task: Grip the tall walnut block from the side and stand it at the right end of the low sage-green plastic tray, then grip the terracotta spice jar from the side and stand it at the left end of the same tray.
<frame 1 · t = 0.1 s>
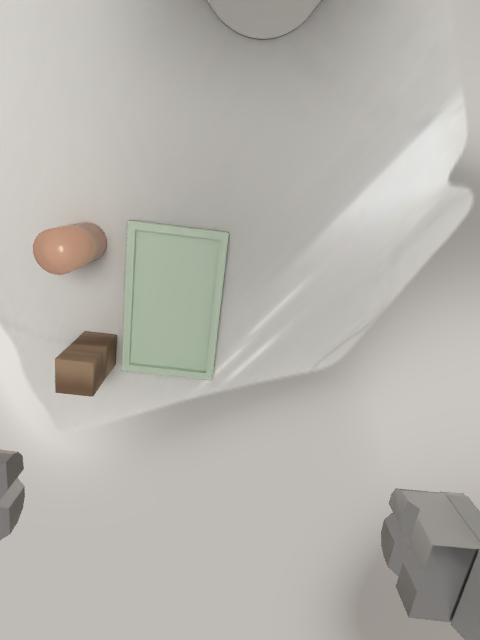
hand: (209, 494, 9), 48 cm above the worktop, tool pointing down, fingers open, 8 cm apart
walnut block: (100, 347, 59), on the worktop
tray: (174, 302, 57), on the worktop
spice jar: (87, 241, 54), on the worktop
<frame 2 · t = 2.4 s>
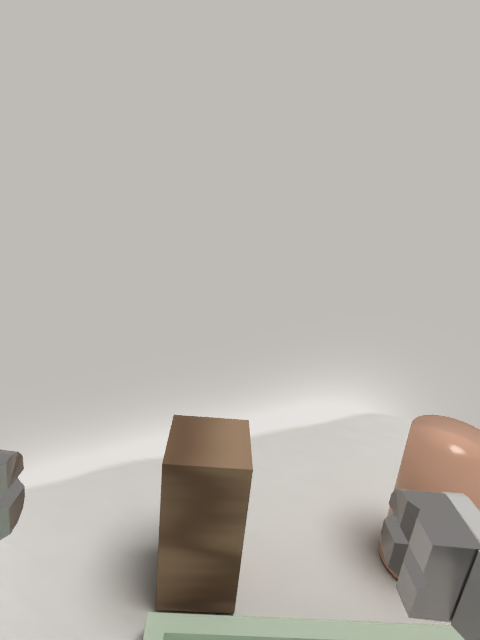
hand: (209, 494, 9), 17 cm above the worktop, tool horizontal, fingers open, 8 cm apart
walnut block: (197, 576, 26), on the worktop
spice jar: (416, 560, 28), on the worktop
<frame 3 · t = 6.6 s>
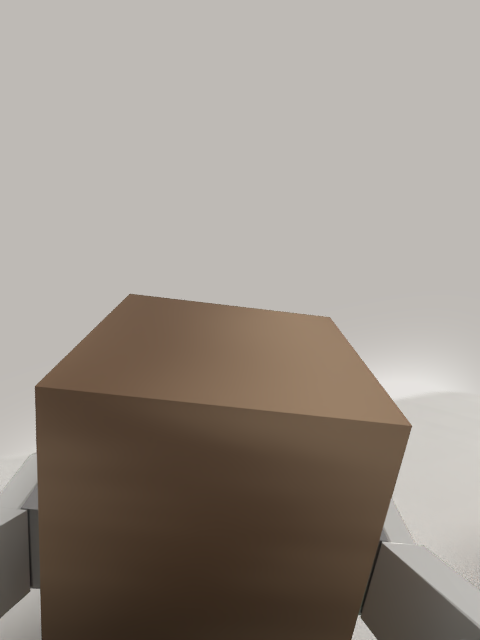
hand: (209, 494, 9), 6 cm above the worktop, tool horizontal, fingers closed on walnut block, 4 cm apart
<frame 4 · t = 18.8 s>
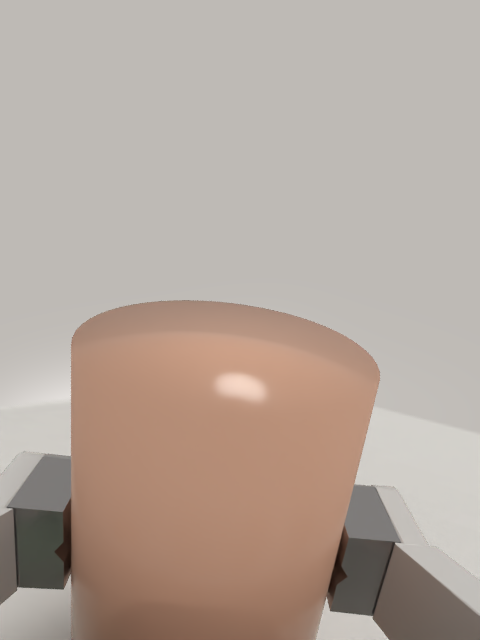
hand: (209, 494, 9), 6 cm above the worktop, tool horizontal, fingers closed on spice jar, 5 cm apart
when the fingers open (8 cm above the worktop, at t = 23.3 s): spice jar stays where it is, resting on tray.
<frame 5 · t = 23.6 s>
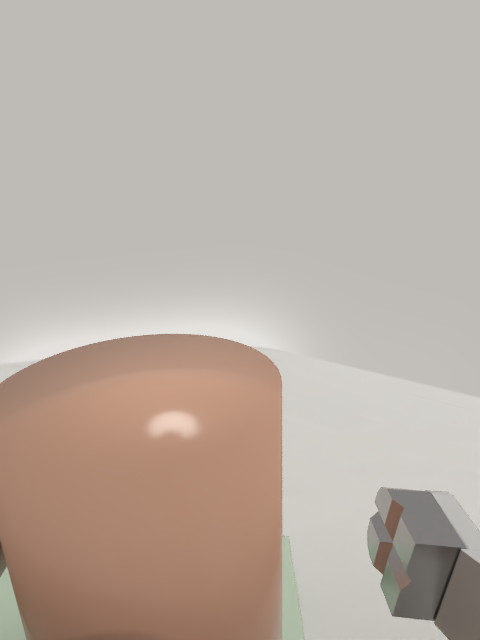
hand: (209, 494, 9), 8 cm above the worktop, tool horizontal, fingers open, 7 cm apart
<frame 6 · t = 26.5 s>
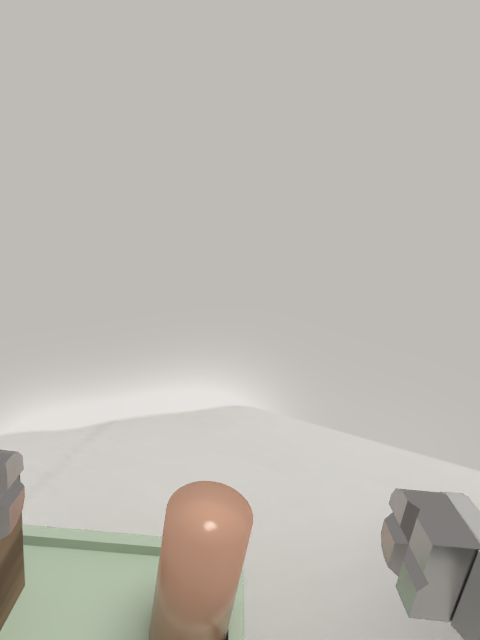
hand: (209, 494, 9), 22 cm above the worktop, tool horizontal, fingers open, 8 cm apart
tray: (81, 629, 27), on the worktop
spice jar: (187, 631, 27), point 1 cm above the worktop, touching tray
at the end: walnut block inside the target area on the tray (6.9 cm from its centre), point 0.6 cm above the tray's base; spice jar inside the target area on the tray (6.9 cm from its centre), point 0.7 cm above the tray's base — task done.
